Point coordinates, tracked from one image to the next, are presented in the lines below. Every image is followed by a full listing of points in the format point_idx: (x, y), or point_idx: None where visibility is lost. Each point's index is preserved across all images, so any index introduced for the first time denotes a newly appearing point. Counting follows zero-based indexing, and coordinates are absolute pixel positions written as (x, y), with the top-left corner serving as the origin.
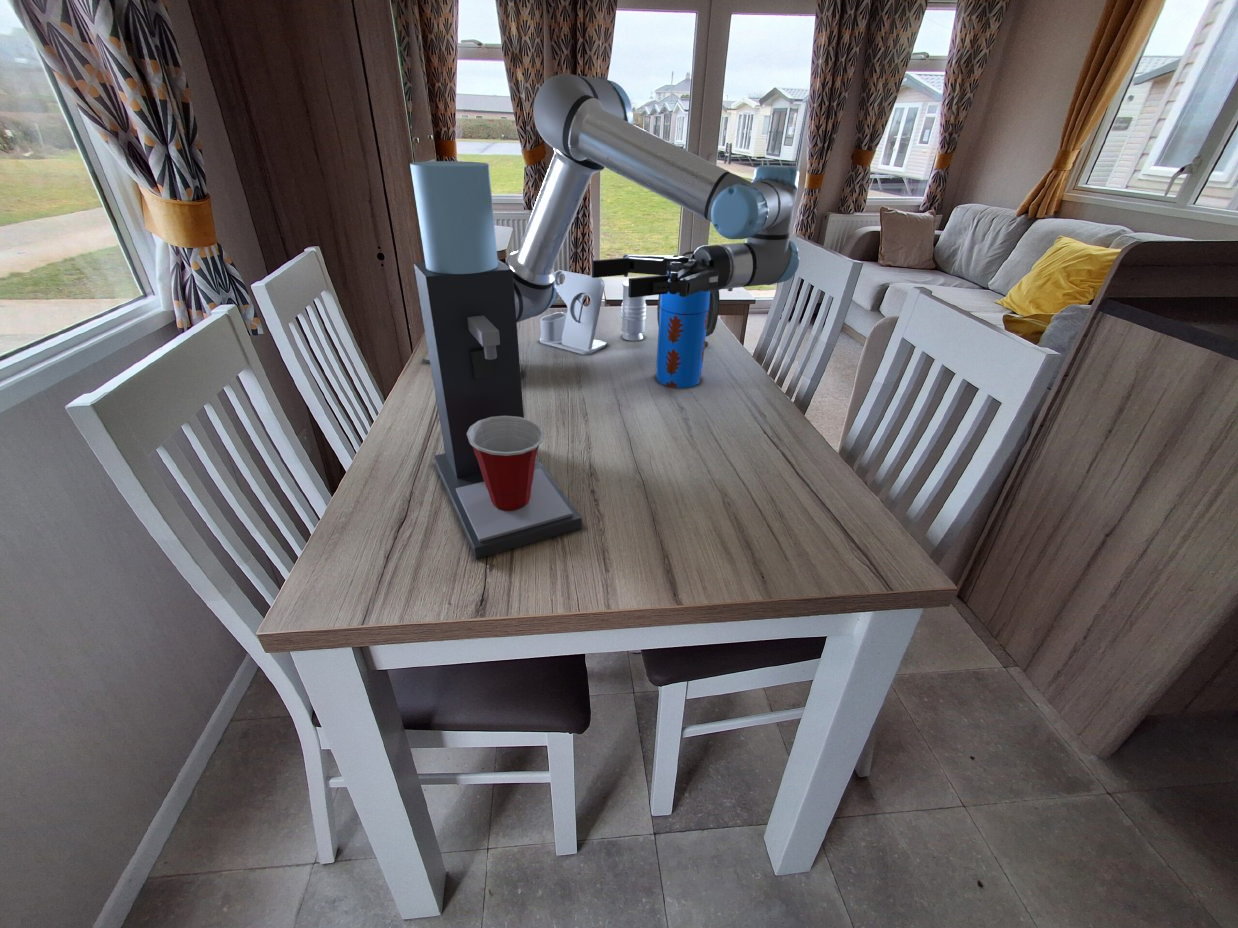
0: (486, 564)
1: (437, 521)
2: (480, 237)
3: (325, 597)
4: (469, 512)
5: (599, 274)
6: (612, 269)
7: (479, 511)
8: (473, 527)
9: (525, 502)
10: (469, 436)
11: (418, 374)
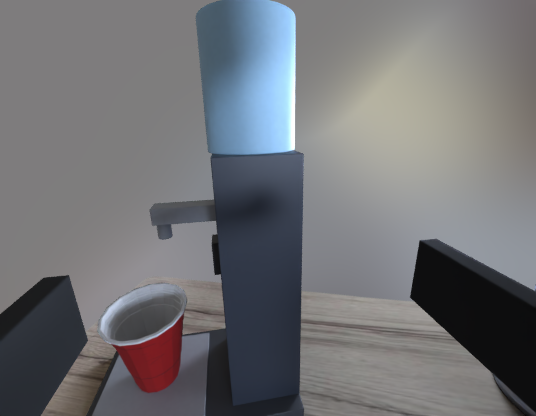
0: (109, 359)
1: (190, 330)
2: (206, 108)
3: None
4: None
5: (430, 304)
6: (500, 341)
7: None
8: None
9: (135, 382)
10: (157, 284)
11: None
